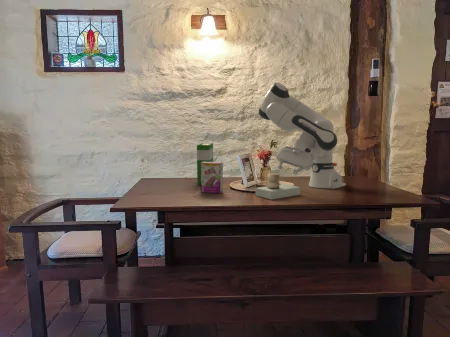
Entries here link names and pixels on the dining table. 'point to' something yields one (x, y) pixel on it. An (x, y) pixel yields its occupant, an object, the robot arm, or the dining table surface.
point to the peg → (273, 181)
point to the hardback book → (203, 157)
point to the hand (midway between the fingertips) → (286, 170)
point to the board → (278, 191)
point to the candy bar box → (211, 177)
